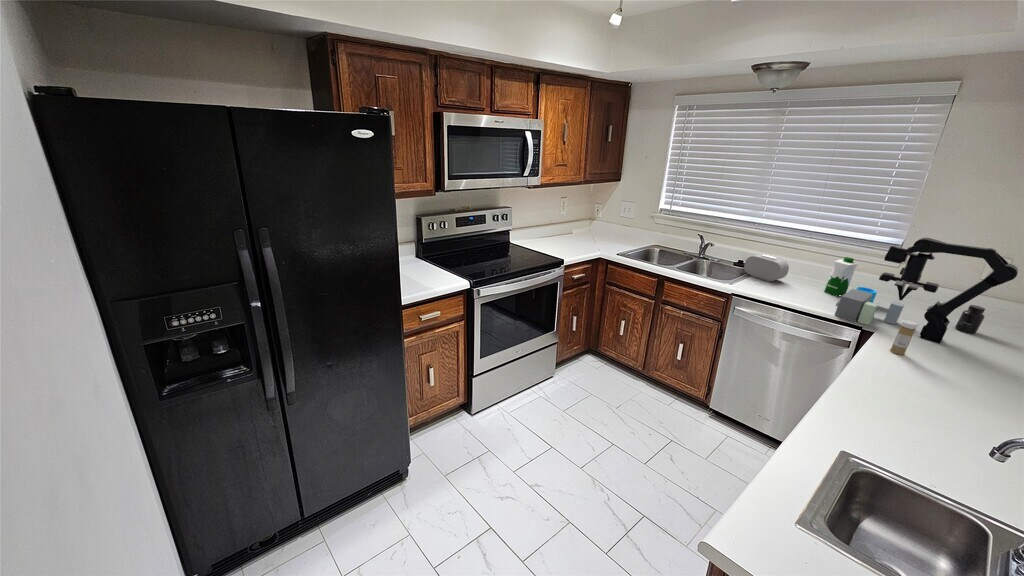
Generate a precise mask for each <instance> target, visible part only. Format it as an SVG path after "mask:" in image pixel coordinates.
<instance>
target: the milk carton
mask: <svg viewBox="0 0 1024 576" xmlns="http://www.w3.org/2000/svg"><path fill="white" fill-rule="evenodd" d="M857 266H858V263H856V262H854V258H853V257H849V256H845V257H844V258H843V259H836V260H833V265H832V268H831V271H830V274H829V278H828V280H827V283H826V286H825V288H824V291H823V292H824V293H826V292H828V293H827V294H829V293H831V294H830V295H832V294H834V295H833V296H835V295H837V296H836V297H840V296H839V295H844V294H845V293H847V292H848V289H849V286H850V284H851V280H852V278H853V275H854V273H855V270H856V269H857Z"/></svg>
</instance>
